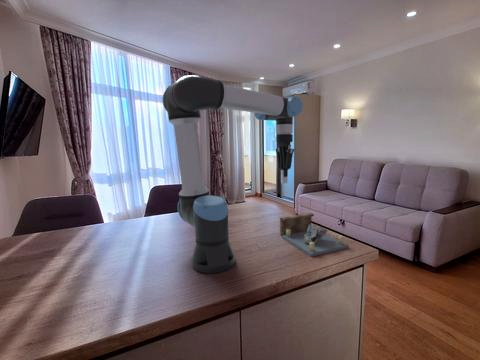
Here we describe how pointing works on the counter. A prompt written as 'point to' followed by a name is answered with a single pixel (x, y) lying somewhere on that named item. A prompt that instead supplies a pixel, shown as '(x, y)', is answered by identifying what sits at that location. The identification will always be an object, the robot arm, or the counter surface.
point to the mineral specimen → (314, 234)
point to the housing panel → (295, 223)
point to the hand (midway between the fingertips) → (284, 183)
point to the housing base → (319, 245)
